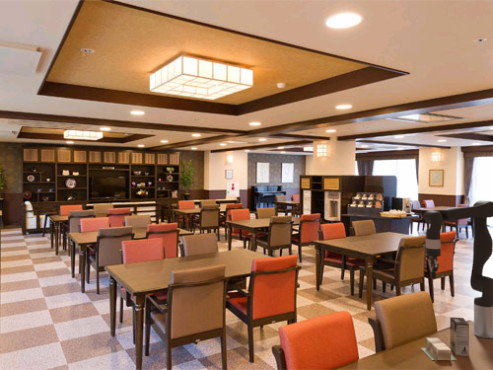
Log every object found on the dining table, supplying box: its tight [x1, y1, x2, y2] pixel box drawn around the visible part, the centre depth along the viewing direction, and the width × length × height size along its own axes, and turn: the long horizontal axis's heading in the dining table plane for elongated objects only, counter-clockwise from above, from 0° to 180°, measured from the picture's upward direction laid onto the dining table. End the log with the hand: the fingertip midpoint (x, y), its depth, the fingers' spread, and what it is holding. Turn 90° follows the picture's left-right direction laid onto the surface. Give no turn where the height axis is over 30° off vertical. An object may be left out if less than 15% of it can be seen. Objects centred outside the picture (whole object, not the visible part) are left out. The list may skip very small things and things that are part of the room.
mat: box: [420, 347, 458, 362], centre depth 189 cm, size 13×12×1 cm
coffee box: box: [449, 316, 470, 357], centre depth 191 cm, size 9×6×16 cm
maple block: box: [425, 336, 452, 360], centre depth 190 cm, size 5×6×14 cm
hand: (433, 278), depth 208 cm, fingers closed
